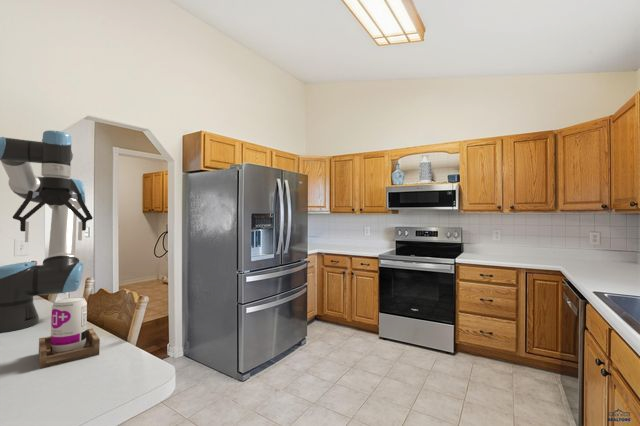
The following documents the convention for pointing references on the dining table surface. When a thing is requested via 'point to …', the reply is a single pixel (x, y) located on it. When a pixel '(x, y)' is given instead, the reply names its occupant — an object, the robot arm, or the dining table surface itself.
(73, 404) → the dining table surface
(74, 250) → the robot arm
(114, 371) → the dining table surface
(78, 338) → the supplement can
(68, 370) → the dining table surface
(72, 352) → the walnut caddy
